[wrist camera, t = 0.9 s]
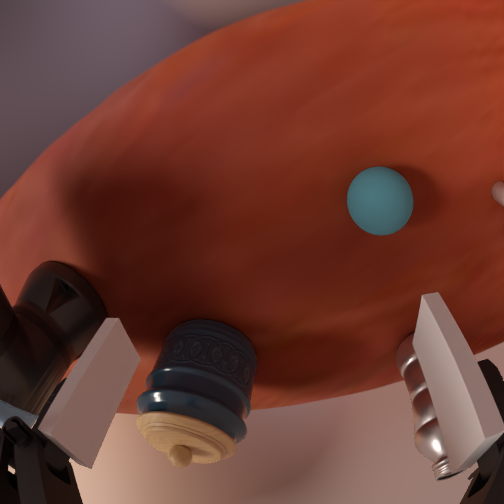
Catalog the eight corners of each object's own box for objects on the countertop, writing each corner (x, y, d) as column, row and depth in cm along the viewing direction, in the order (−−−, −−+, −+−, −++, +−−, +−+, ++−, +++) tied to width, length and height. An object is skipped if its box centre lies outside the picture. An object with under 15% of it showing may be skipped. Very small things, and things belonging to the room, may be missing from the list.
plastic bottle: (441, 343, 35) (483, 465, 18) (400, 364, 38) (426, 490, 20) (430, 316, 33) (482, 452, 16) (385, 340, 36) (416, 481, 18)
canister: (249, 313, 36) (220, 448, 20) (265, 380, 42) (250, 490, 26) (153, 317, 38) (96, 426, 23) (183, 378, 44) (150, 475, 29)
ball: (342, 221, 29) (353, 249, 24) (340, 160, 26) (353, 176, 21) (399, 218, 28) (419, 245, 23) (401, 160, 25) (425, 176, 20)
